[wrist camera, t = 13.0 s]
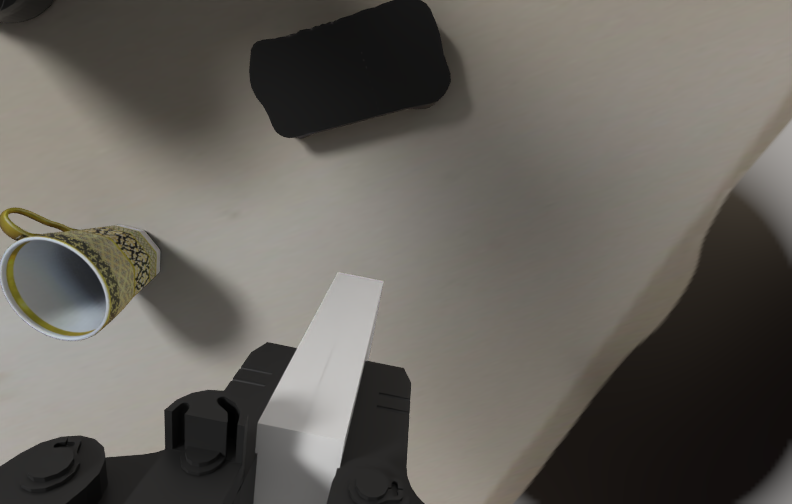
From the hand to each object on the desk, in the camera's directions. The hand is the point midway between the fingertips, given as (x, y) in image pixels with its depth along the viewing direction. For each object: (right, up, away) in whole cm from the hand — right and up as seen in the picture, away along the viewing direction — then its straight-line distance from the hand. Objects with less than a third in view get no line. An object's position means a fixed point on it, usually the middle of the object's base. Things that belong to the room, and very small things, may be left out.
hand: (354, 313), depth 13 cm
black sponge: (-3, +18, +24) cm, 30 cm away
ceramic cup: (-28, +3, +31) cm, 42 cm away
